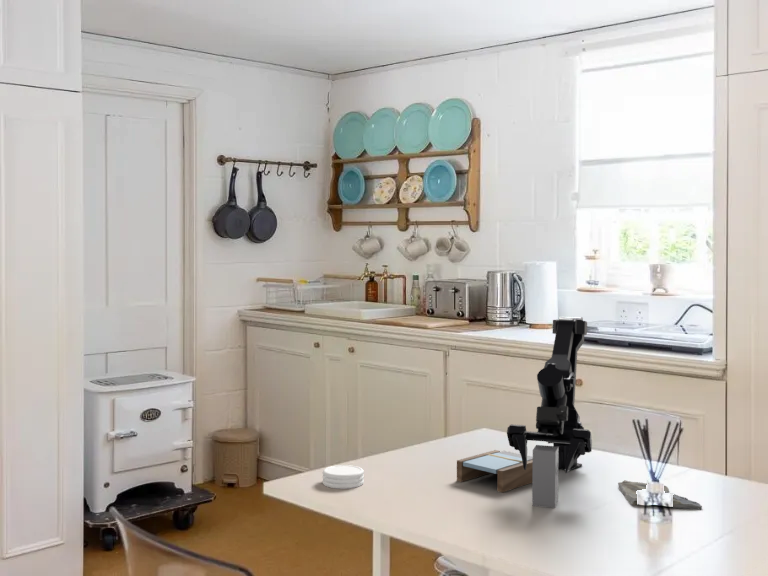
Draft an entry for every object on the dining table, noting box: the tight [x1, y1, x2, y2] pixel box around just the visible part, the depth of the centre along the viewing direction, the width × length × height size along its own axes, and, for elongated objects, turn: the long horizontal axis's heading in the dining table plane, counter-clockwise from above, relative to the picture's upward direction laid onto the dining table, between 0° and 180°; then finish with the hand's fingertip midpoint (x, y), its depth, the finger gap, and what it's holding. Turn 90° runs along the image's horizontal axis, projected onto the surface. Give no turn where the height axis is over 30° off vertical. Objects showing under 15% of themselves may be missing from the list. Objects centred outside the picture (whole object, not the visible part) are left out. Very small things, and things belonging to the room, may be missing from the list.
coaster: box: [321, 464, 365, 490], centre depth 218 cm, size 10×10×4 cm
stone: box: [531, 444, 559, 509], centre depth 201 cm, size 5×5×12 cm
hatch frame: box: [456, 449, 533, 493], centre depth 220 cm, size 14×16×5 cm
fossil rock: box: [617, 480, 703, 510], centre depth 206 cm, size 18×15×2 cm
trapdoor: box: [463, 450, 533, 475], centre depth 220 cm, size 10×16×3 cm, turn 135°
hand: (545, 470), depth 200 cm, fingers open, 9 cm apart
